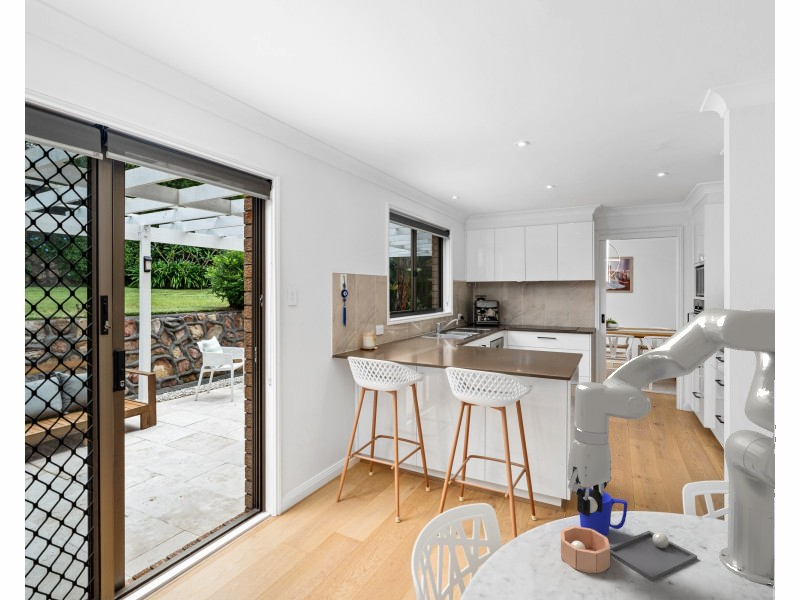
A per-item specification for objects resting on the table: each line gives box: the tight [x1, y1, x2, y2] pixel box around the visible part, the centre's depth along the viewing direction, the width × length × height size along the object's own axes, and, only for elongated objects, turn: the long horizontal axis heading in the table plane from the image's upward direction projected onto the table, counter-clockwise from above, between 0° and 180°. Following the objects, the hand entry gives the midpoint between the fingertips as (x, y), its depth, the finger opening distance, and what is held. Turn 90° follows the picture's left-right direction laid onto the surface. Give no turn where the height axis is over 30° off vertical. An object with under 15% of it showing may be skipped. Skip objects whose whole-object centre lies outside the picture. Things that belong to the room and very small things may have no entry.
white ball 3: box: [652, 531, 670, 548], centre depth 108 cm, size 4×4×4 cm
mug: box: [578, 487, 628, 537], centre depth 115 cm, size 8×12×10 cm
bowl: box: [560, 525, 611, 574], centre depth 104 cm, size 11×11×5 cm
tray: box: [609, 530, 698, 582], centre depth 105 cm, size 17×12×1 cm
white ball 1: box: [571, 541, 586, 550], centre depth 105 cm, size 4×4×4 cm
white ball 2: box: [588, 497, 598, 513], centre depth 104 cm, size 4×4×4 cm
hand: (589, 511), depth 103 cm, fingers closed on white ball 2, 3 cm apart
